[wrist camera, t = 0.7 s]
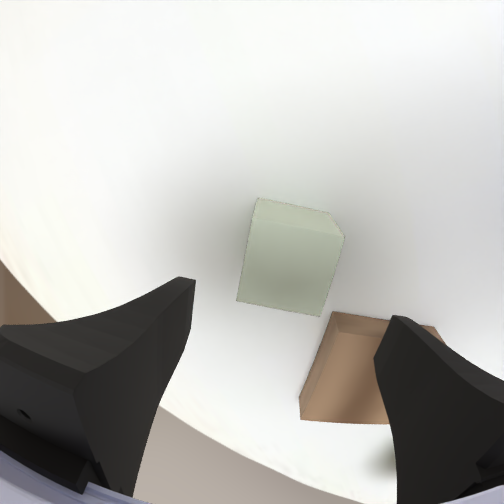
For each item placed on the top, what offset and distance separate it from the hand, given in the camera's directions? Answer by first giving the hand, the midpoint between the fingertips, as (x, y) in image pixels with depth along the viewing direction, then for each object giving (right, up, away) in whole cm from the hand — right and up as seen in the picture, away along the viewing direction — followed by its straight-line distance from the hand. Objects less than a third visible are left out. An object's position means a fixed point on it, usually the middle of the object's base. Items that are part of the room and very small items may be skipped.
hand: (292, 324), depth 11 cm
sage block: (+1, +3, +9) cm, 10 cm away
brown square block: (+8, -7, +13) cm, 17 cm away
